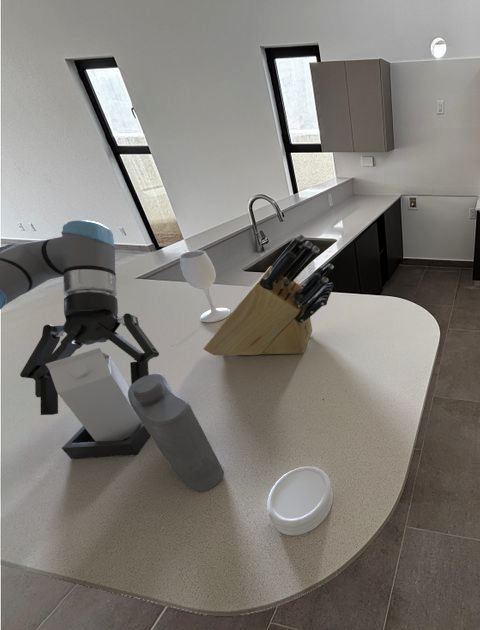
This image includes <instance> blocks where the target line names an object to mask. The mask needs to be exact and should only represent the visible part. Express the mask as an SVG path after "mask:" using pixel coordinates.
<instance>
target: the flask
mask: <svg viewBox="0 0 480 630" xmlns="http://www.w3.org/2000/svg"><path fill="white" fill-rule="evenodd" d="M128 398H129V402H130V404H131V406H132V408H133V409H134V411H135V412H136V414H137V416H138V417H139V419H140V420H141V422H142V423H143V425H144V426H145V428H146V429H147V431H148V433H149V434H150V436H151V437H150V438H151V439H152V440H153V442H154V443H155V446H156V447H157V448H158V449H159V451H160V453H161V454H162V456H163V457H164V459H165V460H166V462H167V464H168V465H169V467H170V468H171V469H172V471H173V473H174V475H175V476H176V477H177V479H179V481H180V482H181V483H182V484H183V485H184V486H186V487H187V488H189V489H190V490H192V491H194V492H205V491H208V490H210V489H212V488H214V487H215V486H217V484H219V483H220V481H222V478H223V477H224V473H225V471H224V469H223V467H222V465H221V462H220V461H219V459H218V457H217V455H216V453H215V451H214V449H213V447H212V445H211V443H210V441H209V440H208V437H207V435H206V433H205V432H204V430H203V427H202V426H201V424H200V422H199V420H198V418H197V416H196V414H195V412H194V411H193V409H192V407H191V404H190V403H189V401H187V400H186V399H183V398H181V397H180V396H178V395H177V394H175V393H174V392H173V389H172V388H171V386H170V384H169V382H168V380H167V378H166V377H165V375H164V374H162V373H151V374H149V375H147V376H144V377H142V378H140V379H138V380H136V381H135V382H134V383H133V384H130V386H129V390H128Z"/></svg>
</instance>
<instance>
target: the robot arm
mask: <svg viewBox="0 0 480 630" xmlns="http://www.w3.org/2000/svg"><path fill="white" fill-rule="evenodd" d="M60 233H61V236H57V237H52V238H47V239H40V240H34V241H28V242H21V243H10V244H9V243H8V244H6V245H3V246H0V310H2V309H3V308H4V307H5V306H6V305H8V304H9V303H12V302H13V301H15V300H16V299H18V298H19V297H21V296H22V295H25V294H27V293H28V292H30V291H32V290H33V289H35V288H37V287H39V286H40V285H43V284H44V283H46V282H47V281H50V280H52V279H58V278H63V296H65V297H64V298H63V314H64V317H65V322H64V324H63V325H52V324H45V325H44V326H43V327H42V332H41V338H40V339H39V340H38V342H37V344H36V346H35V347H34V350H33V351H32V352H31V354H30V356H29V358H28V360H27V361H26V363H25V365H24V366H23V368H22V369H21V372H20V373H19V376H20V378H25V379H33V380H34V382H35V383H34V385H35V386H34V387H35V388H34V395H35V398H40V416H51V415H58V414H59V394H58V393H57V391H56V388H55V385H54V382H53V379H52V377H51V374H50V371H49V369H48V367H47V366H46V364H47V363H50V362H54V361H57V360H60V359H64V358H67V357H70V356H73V355H74V353H75V352H76V351H77V350H78V349H80V348H82V347H83V346H84V345H85V346H89V345H93V344H95V343H96V344H97V343H107V341H110V342H112V343H113V344H114V345H115V346H117V347H118V348H119V349H120V350H122V351H123V352H124V353H126V354H127V355H128V356H129V357H131V358H132V359H133V360H134V361H130V362H129V367H130V381H131V383H130V385H132V384H133V383H134V382H135V381H136V380H138V379H140V378H142V377H144V376H147V375H150V374H149V373H150V372H149V361H150V360H152V359H154V358H157V357H159V356H160V352H159V351H158V349H157V348H156V347H155V346H154V344H153V343H152V341H151V340H150V339H149V337H148V336H147V334H146V333H145V331H143V329H142V328H141V327H140V324H139V323H140V322H139V320H138V316H136V315H133V314H131V313H124V314H123V316H119V317H118V315H119V307H118V306H119V305H118V304H119V303H118V298H117V297H116V296H117V295H118V287H117V273H116V249H117V248H116V246H115V240H114V239H115V238H114V233H113V232H112V230H111V229H110V228H109V227H107V226H105V225H104V224H102V223H99V222H96V221H91V220H82V219H80V220H79V219H78V220H71V221H68V222H66V223H65V224H63V226H62V231H61V232H60ZM121 325H122V326H124V327H125V328H126V329H127V330H128V332H129V334H130V335H131V336H132V337H133V339H134V340H135V342H136V343H137V344H138V346H139V347H140V348H141V350H142V351H143V352H142V351H141V350H140V349H138V348H137V347H136V346H134V345H133V344H132V343H130V342H129V341H128V340H127V339H125V338H124V337H123V335H121V334H119V332H118V331H117V330H118V329H119V327H120V326H121ZM64 333H65V334H66V335H65V336H64ZM62 337H63V338H62ZM61 338H62V340H61ZM60 340H61V341H60ZM59 342H60V345H59V346H58V344H59ZM57 346H58V347H57Z"/></svg>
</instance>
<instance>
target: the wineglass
mask: <svg viewBox="0 0 480 630" xmlns="http://www.w3.org/2000/svg"><path fill="white" fill-rule="evenodd" d="M178 259H179V265H180V269H181V273H182V275H183V277H184V280H185V281H186V283H187V284H189V285H190V286H191V287H193V288H195V289H199V290H202V291H203V292H204V294H205V296H206V299H207V301H208V305H209V310H207V311H205V312H204V313H203V314H201V315H200V318H199V320H200V321H201V322H203V323H215V322H220V321H223V320H225V319H227V318H228V317H229V316H230V314H231V310H230V309H229V308H226V307H216V306H215V304H214V301H213V299H212V297H211V294H210V288H211V287H212V286H213V285H214V284H215V281H216V280H217V279H216V278H217V273H216V269H215V267H214V263H213V262H212V260H211V258H210V256H209V255H208V253H207V252H206V251H205V250H201V249H199V250H198V249H197V250H190V251H189V250H188V251H186V252H183V253H181V254H180V255H179V258H178Z"/></svg>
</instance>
